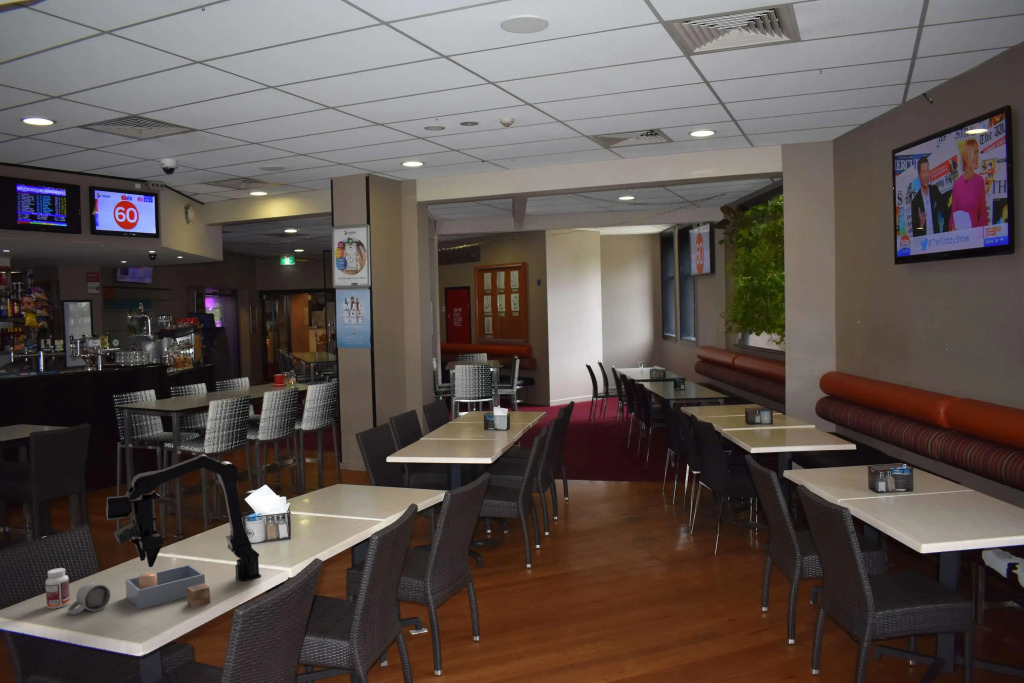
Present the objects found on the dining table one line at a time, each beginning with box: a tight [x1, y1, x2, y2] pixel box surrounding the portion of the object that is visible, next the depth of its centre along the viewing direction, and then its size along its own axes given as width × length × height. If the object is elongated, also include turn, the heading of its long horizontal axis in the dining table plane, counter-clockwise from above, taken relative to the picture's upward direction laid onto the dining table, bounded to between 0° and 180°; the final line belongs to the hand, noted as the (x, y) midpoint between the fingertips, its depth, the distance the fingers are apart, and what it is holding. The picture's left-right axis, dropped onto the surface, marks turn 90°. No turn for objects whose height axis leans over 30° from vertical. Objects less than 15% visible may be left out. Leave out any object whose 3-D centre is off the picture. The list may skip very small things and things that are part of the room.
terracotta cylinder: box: [138, 571, 157, 590], centre depth 230 cm, size 5×5×7 cm
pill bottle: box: [44, 567, 71, 610], centre depth 228 cm, size 6×6×11 cm
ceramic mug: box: [67, 582, 112, 616], centre depth 224 cm, size 11×8×8 cm
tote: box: [125, 564, 206, 610], centre depth 234 cm, size 20×15×6 cm
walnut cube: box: [187, 583, 211, 609], centre depth 225 cm, size 5×5×5 cm
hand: (146, 563), depth 230 cm, fingers open, 9 cm apart
